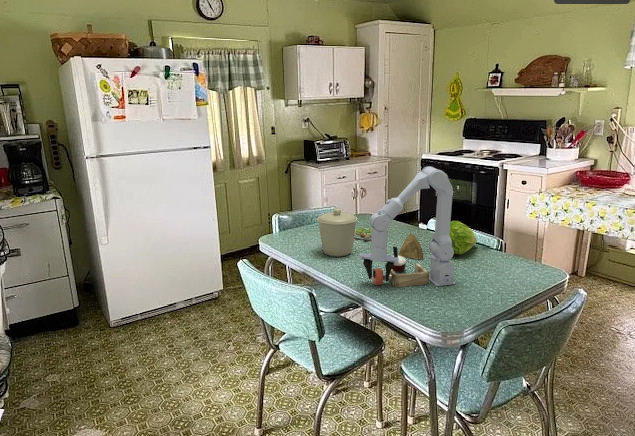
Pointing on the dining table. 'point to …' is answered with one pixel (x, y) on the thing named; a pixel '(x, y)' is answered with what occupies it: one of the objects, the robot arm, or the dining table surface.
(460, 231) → the lettuce
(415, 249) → the rock
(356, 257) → the dining table surface
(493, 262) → the dining table surface
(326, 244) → the canister
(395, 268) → the cocoa
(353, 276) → the dining table surface
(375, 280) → the lock pin
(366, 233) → the salad plate
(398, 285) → the dock
